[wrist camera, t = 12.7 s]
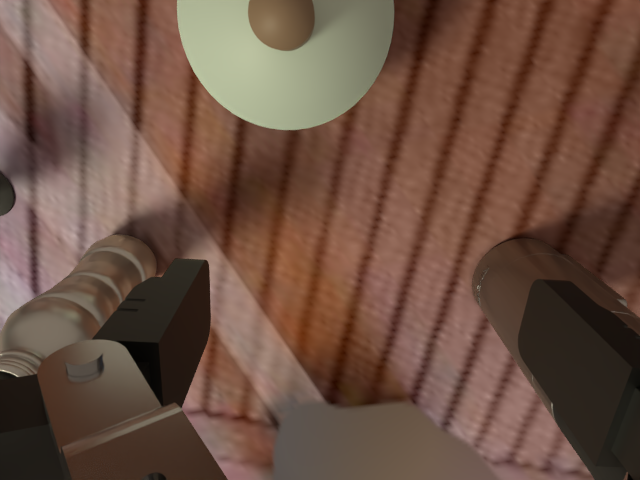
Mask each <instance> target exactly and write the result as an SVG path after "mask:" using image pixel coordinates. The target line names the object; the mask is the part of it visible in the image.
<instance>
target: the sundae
mask: <svg viewBox="0 0 640 480" xmlns="http://www.w3.org/2000/svg"><path fill="white" fill-rule="evenodd" d="M13 203H14V193H13V189H12V187H11V185H10V183H9V182H8V180H7V179H6V178H5V177H4V176H3V175H2V174H0V216H2V215H4V214H6V213H8V212H9V210H10V209H11V208H12V206H13Z"/></svg>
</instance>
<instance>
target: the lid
mask: <svg viewBox="0 0 640 480" xmlns="http://www.w3.org/2000/svg"><path fill="white" fill-rule="evenodd" d="M177 17H178V26H179V32H180V36H181V40H182V44H183V47H184V50H185V53H186V56H187V58H188V60H189V62H190V64H191V66H192V69H193V71H194V72H195V74H196V75H197V77H198V79H199V80H200V82H201V83H202V85H203V86H204V87H205V88H206V89H207V91H208V92H209V93H210V94H211V95H212V96H213V97H214V98H215V99H216V100H217V101H218V102H219V103H220V104H221V105H222V106H224V107H225V108H226V109H228V110H229V111H230V112H232V113H233V114H235V115H237V116H239V117H240V118H242V119H244V120H246V121H249V122H251V123H253V124H256V125H259V126H263V127H267V128H271V129H279V130H298V129H306V128H311V127H314V126H318V125H321V124H324V123H326V122H328V121H331V120H333V119H335V118H336V117H338V116H340V115H341V114H343V113H345V112H346V111H347V110H349V109H350V108H351V107H352V106H354V105H355V104H356V103H357V102H358V101H359V100H360V99H361V98H362V97H363V96H364V95H365V94H366V92H367V91H368V90H369V88H370V87H371V86H372V84H373V83H374V81H375V80H376V78H377V76H378V75H379V73H380V71H381V69H382V67H383V64H384V62H385V60H386V57H387V54H388V51H389V47H390V44H391V39H392V33H393V27H394V0H177Z"/></svg>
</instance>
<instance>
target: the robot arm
mask: <svg viewBox="0 0 640 480" xmlns="http://www.w3.org/2000/svg"><path fill="white" fill-rule="evenodd" d="M472 289H473V295H474V297H475V300H476V302H477V303H478V305H479V306H480V308H481V309H482V311H483V312H484V314H485V316H486V317H487V319H488V320H489V322H490V323H491V325H492V326H493V328H494V329H495V331H496V332H497V334H498V336H499V337H500V339H501V340H502V342H503V343H504V345H505V346H506V348H507V349H508V351H509V352H510V354H511V355H512V357H513V358H514V360H515V361H516V363H517V364H518V366H519V367H520V369H521V371H522V372H523V374H524V375H525V377H526V378H527V380H528V381H529V383H530V384H531V386H532V387H533V389H534V390H535V392H536V393H537V395H538V396H539V398H540V399H541V401H542V402H543V404H544V405H545V407H546V408H547V410H548V411H549V413H550V414H551V416H552V417H553V419H554V420H555V422H556V423H557V425H558V427H559V428H560V429H561V431H562V432H563V434H564V435H565V437H566V438H567V440H568V441H569V443H570V444H571V445H572V447H573V448H574V450H575V451H576V453H577V454H578V455H579V457H580V458H581V460H582V461H583V463H584V464H585V465H586V467H587V468H588V470H589V471H590V473H591V475H592V476H593V478H594V479H595V480H640V318H639V317H638V316H637V315H636V314H634V313H633V312H632V311H631V310H629V309H628V308H627V302H626V300H625V299H624V298H623V297H622V296H620V295H619V294H618V293H617V292H615V291H614V290H613V289H611V288H610V287H609V286H608V285H606V284H605V283H604V282H602V281H601V280H600V279H599V278H597V277H596V276H595V275H593V274H592V273H591V272H590V271H588V270H587V269H586V268H584V267H583V266H582V265H581V264H579V263H578V262H577V261H575V260H574V259H573V258H572V257H570V256H569V255H566V254H560V253H559V252H557V251H556V250H555V249H554V248H552V247H551V246H550V245H548V244H546V243H544V242H543V241H539V240H536V239H530V238H520V239H513V240H510V241H507V242H504V243H502V244H500V245H498V246H496V247H494V248H493V249H492V250H491V251H489V252H488V253H487V254H486V255H485V256H484V257H483V258H482V260H481V261H480V262H479V264H478V266H477V268H476V269H475V272H474V275H473V281H472ZM210 321H211V313H210V278H209V264H208V261H207V260H197V259H178V258H176V259H175V260H174V261H173V262H172V264H171V265H170V266H169V268H168V269H167V270H166V272H165V273H164V275H163V276H162V277H150V278H148V279H147V280H145V281H143V282H141V283H140V284H138V285H136V286H134V288H133V289H132V290H131V291H130V293H129V294H128V295H127V296H126V297H125V301H122V302H121V304H120V305H119V306H118V307H117V311H114V312H113V314H112V315H111V316H110V317H109V319H108V320H107V321H106V322H105V323H104V325H103V326H102V327H101V328H100V330H99V331H98V332H97V333H96V335H95V336H94V337H93V338H92V340H87V341H81V342H77V343H74V344H71V345H68V346H65V347H63V348H61V349H59V350H57V351H55V352H54V353H52V354H51V355H49V356H48V357H47V358H46V359H45V360H44V361H43V362H42V363H41V364H40V366H39V368H38V371H37V374H33V375H28V376H22V377H15V378H8V379H2V380H0V480H228V479H227V478H226V476H225V475H224V473H223V472H222V470H221V469H220V467H219V466H218V464H217V462H216V461H215V459H214V458H213V456H212V455H211V453H210V452H209V450H208V449H207V447H206V446H205V444H204V443H203V441H202V440H201V438H200V437H199V435H198V434H197V432H196V430H195V429H194V427H193V426H192V424H191V423H190V421H189V420H188V418H187V417H186V415H185V414H184V412H183V411H182V409H181V408H182V405H183V403H184V400H185V398H186V395H187V393H188V390H189V387H190V385H191V382H192V380H193V377H194V375H195V372H196V370H197V367H198V364H199V362H200V359H201V357H202V354H203V352H204V349H205V347H206V344H207V341H208V337H209V331H210Z"/></svg>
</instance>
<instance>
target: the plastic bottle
mask: <svg viewBox="0 0 640 480" xmlns="http://www.w3.org/2000/svg"><path fill="white" fill-rule="evenodd" d="M156 271H157V263H156V258H155V256H154V254H153V252H152V251H151V249H150V248H149V247H148V246H147V245H146V244H145V243H144V242H142V241H141V240H139V239H137V238H135V237H132V236H129V235H112V236H108V237H106V238H104V239H102V240H99V241H97V242H95V243H94V244H93V245H91V246H90V248H89V249H88V250H87V251H86V253H85V254H84V255H83V257H82V258H81V260H80V262H79V264H78V265H77V266H76V267H75V268H74V270H73V271H72V272H71V273H70V274H69V275H68V276H67V277H66V278H65V279H63V280H62V281H61V282H59V283H58V284H57V285H55V286H54V287H53V288H51V289H50V290H48V291H46V292H44V293H43V294H41V295H39V296H37V297H36V298H34V299H32V300H31V301H29V302H27V303H25V304H24V305H23V306H21V307H20V308H18V309H17V310H16V311H14V312H13V313H12V314H11V315H10V316H9V317H8V319H7V321H6V323H5V325H4V326H3V328H2V331H1V333H0V380H2V379H8V378H15V377H22V376H28V375H33V374H37V371H38V368H39V366H40V364H41V363H42V362H43V361H44V360H45V359H46V358H47V357H48V356H49V355H51V354H52V353H54V352H55V351H57V350H59V349H61V348H63V347H65V346H68V345H71V344H74V343H77V342H81V341H87V340H92V338H93V337H94V336H95V335H96V333H97V332H98V331H99V330H100V328H101V327H102V326H103V325H104V323H105V322H106V321H107V320H108V319H109V317H110V316H111V315H112V314H113V312H114V311H117V307H118V306H119V305H120V304H121V302H122V301H125V297H126V296H127V295H128V294H129V293H130V291H131V290H132V289H133V288H134V286H136V285H138V284H140V283H141V282H143V281H145V280H147V279H148V278H150V277H155V274H156Z"/></svg>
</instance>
